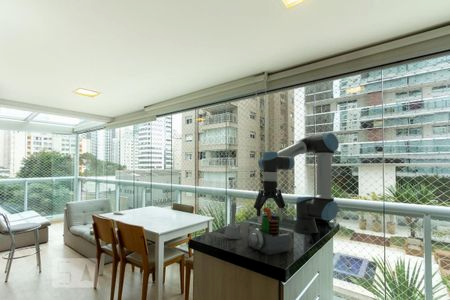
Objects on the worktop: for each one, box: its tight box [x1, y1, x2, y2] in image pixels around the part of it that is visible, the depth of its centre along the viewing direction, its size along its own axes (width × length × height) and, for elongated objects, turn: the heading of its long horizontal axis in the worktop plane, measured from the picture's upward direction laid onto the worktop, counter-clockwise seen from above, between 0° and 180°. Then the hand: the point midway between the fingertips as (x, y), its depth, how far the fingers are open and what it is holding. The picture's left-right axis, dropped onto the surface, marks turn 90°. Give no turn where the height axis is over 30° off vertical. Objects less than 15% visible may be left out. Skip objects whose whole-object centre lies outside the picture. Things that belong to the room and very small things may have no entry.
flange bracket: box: [247, 227, 291, 256], centre depth 121 cm, size 18×16×10 cm
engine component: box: [224, 201, 242, 240], centre depth 142 cm, size 11×20×10 cm
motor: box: [260, 207, 280, 236], centre depth 122 cm, size 10×9×20 cm
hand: (269, 221), depth 123 cm, fingers open, 13 cm apart
